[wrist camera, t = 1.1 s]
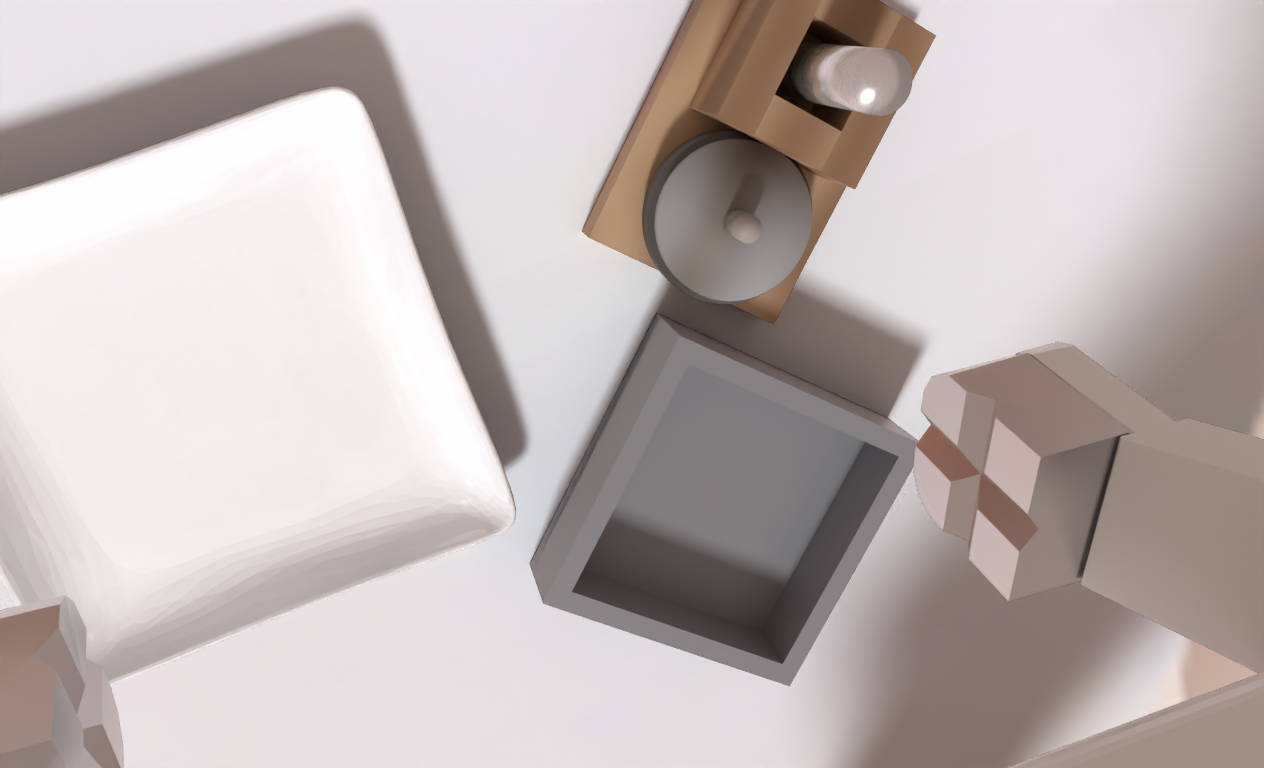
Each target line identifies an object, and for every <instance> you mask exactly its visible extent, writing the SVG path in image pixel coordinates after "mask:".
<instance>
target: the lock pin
mask: <svg viewBox="0 0 1264 768" xmlns="http://www.w3.org/2000/svg"><path fill="white" fill-rule="evenodd" d="M911 87H912V71H911V68H910V65H909V63H908V61H907V60H906V59H905V57H904V56H903V55H902V54H900V53H899V52H897V51H895V50H892V49H885V48H872V47H859V46H846V45H833V44H820V43H807V42H801V43H800V45H799V47H798V49H797V51H796V53H795V55H794V57H793V59H792V61H791V63H790V65H789V67H788V69H787V71H786V73H785V75H784V77H783V79H782V81H781V83H780V85H779V87H778V89H777V91H776V93H777V94H779V95H780V96H783V97H786V98H791V99H796V100H801V101H806V102H811V103H816V104H821V105H826V106H831V107H836V108H841V109H846V110H850V111H855V112H860V113H865V114H870V115H875V116H884V115H888V114H891V113H893V112H895V111H896V110H898V109H899V108H900V107H901V106H902V105H903V104H904V103H905V101H906V100H907V98H908V96H909V94H910V91H911Z"/></svg>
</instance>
